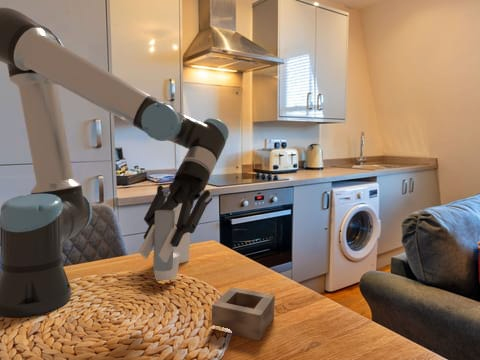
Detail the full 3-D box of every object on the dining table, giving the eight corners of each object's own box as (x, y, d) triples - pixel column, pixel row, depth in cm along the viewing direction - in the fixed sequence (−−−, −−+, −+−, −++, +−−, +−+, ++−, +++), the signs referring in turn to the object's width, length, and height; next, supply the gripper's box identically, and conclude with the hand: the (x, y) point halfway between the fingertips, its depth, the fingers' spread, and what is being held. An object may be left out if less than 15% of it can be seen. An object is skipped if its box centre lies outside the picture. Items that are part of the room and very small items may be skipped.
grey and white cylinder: (173, 286, 91) (173, 259, 91) (148, 283, 93) (148, 257, 92) (182, 277, 98) (183, 252, 97) (159, 274, 99) (159, 249, 99)
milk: (162, 260, 111) (163, 190, 109) (178, 256, 116) (179, 188, 114) (174, 265, 107) (175, 192, 105) (190, 261, 112) (191, 191, 110)
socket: (211, 329, 71) (212, 305, 70) (230, 308, 80) (231, 287, 80) (259, 340, 67) (260, 315, 67) (273, 317, 77) (274, 295, 76)
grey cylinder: (149, 269, 74) (151, 211, 73) (160, 263, 78) (162, 209, 77) (165, 272, 73) (168, 214, 71) (176, 266, 76) (178, 211, 75)
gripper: (232, 183, 85) (196, 273, 71) (170, 177, 91) (126, 259, 77) (224, 162, 79) (184, 254, 66) (159, 157, 85) (109, 240, 72)
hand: (152, 256), depth 71 cm, fingers closed on grey cylinder, 4 cm apart
